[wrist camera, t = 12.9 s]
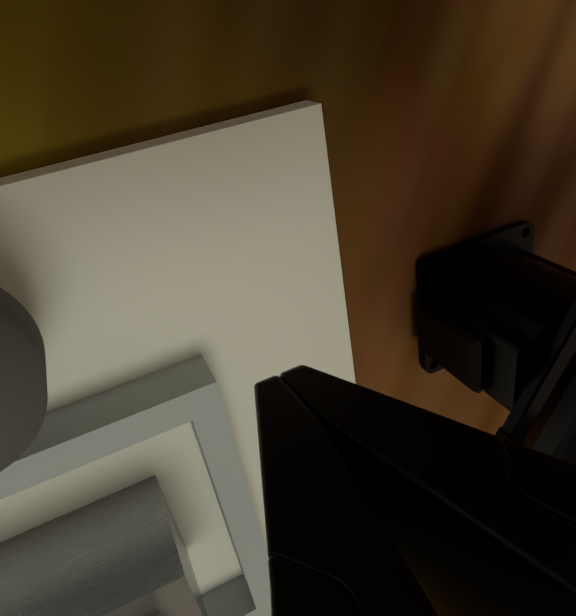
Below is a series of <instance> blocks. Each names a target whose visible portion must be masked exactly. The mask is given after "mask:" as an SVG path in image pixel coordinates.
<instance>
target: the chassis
mask: <svg viewBox="0 0 576 616" xmlns="http://www.w3.org/2000/svg"><path fill="white" fill-rule="evenodd" d="M0 288H2V289H3V290H5V291H6V292H8V293H9V294H10V295H12V296H13V297H14V298H15V299H16V300H17V301H18V302H20V303H21V304H22V305H23V306H24V307H25V309H26V310H27V311H28V312H29V314H30V315H31V316H32V317H33V319H34V321H35V323H36V324H37V326H38V328H39V330H40V333H41V335H42V338H43V342H44V347H45V356H46V374H47V393H48V401H47V410H46V414H45V417H44V421H43V423H42V426H41V428H40V430H39V432H38V434H37V436H36V437H35V439H34V440H33V442H32V443H31V445H30V446H29V447H28V448H27V449H26V450H25V452H24V453H23V454H22V455H21V456H20V457H19V458H18V459H17V460H15V461H14V462H13V463H12V464H11V465H9V466H8V467H7V468H5V469H4V470H3V471H1V472H0V542H2V541H5V540H7V539H9V538H12V537H14V536H16V535H18V534H21V533H23V532H25V531H28V530H30V529H32V528H34V527H37V526H39V525H41V524H44V523H46V522H48V521H51V520H53V519H55V518H57V517H60V516H62V515H64V514H67V513H69V512H71V511H74V510H76V509H78V508H80V507H83V506H85V505H87V504H90V503H92V502H94V501H97V500H99V499H101V498H103V497H106V496H108V495H110V494H113V493H115V492H117V491H120V490H122V489H124V488H126V487H129V486H131V485H133V484H136V483H138V482H140V481H142V480H145V479H147V478H149V477H152V476H154V475H156V478H157V480H158V482H159V485H160V487H161V489H162V492H163V494H164V496H165V499H166V501H167V504H168V506H169V508H170V511H171V513H172V515H173V518H174V520H175V523H176V525H177V527H178V530H179V532H180V534H181V537H182V539H183V542H184V544H185V546H186V549H187V552H188V555H189V558H190V561H191V564H192V568H193V571H194V574H195V577H196V580H197V584H198V587H199V590H200V593H201V596H202V600H203V603H204V606H205V609H206V613H207V616H271V595H270V580H269V568H268V560H269V558H268V552H267V540H266V527H265V515H264V503H263V491H262V479H261V467H260V455H259V443H258V430H257V418H256V406H255V394H254V385H255V384H256V383H257V382H259V381H262V380H264V379H267V378H269V377H272V376H275V375H276V376H280V374H281V373H282V372H284V371H286V370H289V369H291V368H294V367H296V366H299V365H306V366H309V367H311V368H314V369H317V370H320V371H322V372H325V373H328V374H330V375H333V376H336V377H338V378H341V379H344V380H346V381H349V382H352V383H355V375H354V367H353V359H352V351H351V343H350V334H349V326H348V318H347V310H346V302H345V294H344V286H343V277H342V269H341V261H340V253H339V245H338V237H337V229H336V220H335V212H334V204H333V196H332V188H331V180H330V172H329V163H328V155H327V147H326V139H325V131H324V123H323V115H322V106H321V103H317V102H312V101H307V100H305V101H301V102H297V103H293V104H289V105H285V106H281V107H277V108H273V109H269V110H265V111H261V112H257V113H254V114H250V115H246V116H242V117H238V118H234V119H230V120H226V121H222V122H218V123H214V124H210V125H206V126H202V127H198V128H194V129H190V130H187V131H183V132H179V133H175V134H171V135H167V136H163V137H159V138H155V139H151V140H147V141H143V142H139V143H135V144H131V145H127V146H123V147H119V148H116V149H112V150H108V151H104V152H100V153H96V154H92V155H88V156H84V157H80V158H76V159H72V160H68V161H64V162H60V163H56V164H52V165H49V166H45V167H41V168H37V169H33V170H29V171H25V172H21V173H17V174H13V175H9V176H5V177H1V178H0ZM355 384H356V383H355Z"/></svg>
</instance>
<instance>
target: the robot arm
mask: <svg viewBox="0 0 576 616" xmlns="http://www.w3.org/2000/svg"><path fill="white" fill-rule="evenodd" d="M522 231H523V232H522ZM533 236H534V226H533V224H532V223H530V222H527V221H524V220H521V221H518V222H515V223H512V224H510V225H507V226H504V227H501V228H499V229H496V230H493V231H491V232H488V233H485V234H483V235H480V236H477V237H474V238H472V239H469V240H466V241H464V242H461V243H458V244H455V245H453V246H450V247H447V248H445V249H442V250H439V251H437V252H434V253H431V254H428V255H426V256H424V257H422V258H421V259H420V261H419V262H418V264H417V285H418V308H417V311H418V334H419V348H420V358H421V367H422V368H423V369H424V370H425V371H427V372H428V373H434V372H436V371H439V370H441V369H443V368H444V369H446V370H447V371H448V372H449V373H451V374H452V375H453V376H454V377H456V378H457V379H458V380H460V381H461V382H462V383H463V384H465V385H466V386H467V387H468V388H470V389H471V390H472V391H474V392H476V393H480V392H482V391H484V392H486V393H487V394H488V395H490V396H491V397H492V398H494V399H495V400H496V401H497V402H499V403H500V404H501V405H503V406H504V407H505V408H507V409H508V410H509V411H510V414H509V416H508V417H507V419H506V421H505V423H504V424H503V426H502V427H499V429H498V431H497V432H496V434H495V435H492V434H490V433H487V432H484V431H481V430H479V429H476V428H473V427H471V426H468V425H465V424H463V423H460V422H457V421H454V420H452V419H449V418H446V417H444V416H441V415H438V414H436V413H433V412H430V411H427V410H425V409H422V408H419V407H417V406H414V405H411V404H409V403H406V402H403V401H400V400H398V399H395V398H392V397H390V396H387V395H384V394H382V393H379V392H376V391H373V390H371V389H368V388H365V387H363V386H360V385H357V384H355V383H352V382H349V381H346V380H344V379H341V378H338V377H336V376H333V375H330V374H328V373H325V372H322V371H320V370H317V369H314V368H311V367H309V366H306V365H299V366H296V367H294V368H291V369H289V370H286V371H284V372H282V373H281V374H280V376H276V375H275V376H272V377H269V378H267V379H264V380H262V381H259V382H257V383H256V384H255V385H254V394H255V406H256V418H257V430H258V443H259V455H260V467H261V479H262V491H263V503H264V515H265V527H266V540H267V552H268V558H269V560H268V568H269V580H270V595H271V616H576V272H575V271H573V270H570V269H568V268H566V267H563V266H561V265H559V264H556V263H554V262H552V261H549V260H547V259H544V258H542V257H540V256H537V255H535V254H533V253H532V248H533ZM429 264H430V267H429V269H427V267H428V265H429ZM431 362H432V363H431Z"/></svg>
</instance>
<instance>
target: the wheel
mask: <svg viewBox="0 0 576 616" xmlns="http://www.w3.org/2000/svg"><path fill="white" fill-rule="evenodd" d="M47 401H48V393H47V374H46V356H45V347H44V342H43V338H42V335H41V333H40V330H39V328H38V326H37V324H36V323H35V321H34V319H33V317H32V316H31V315H30V314H29V312H28V311H27V310H26V309H25V307H24V306H23V305H22V304H21V303H20V302H18V301H17V300H16V299H15V298H14V297H13V296H12V295H10V294H9V293H8V292H6V291H5V290H3V289H2V288H0V472H1V471H3V470H4V469H5V468H7V467H8V466H9V465H11V464H12V463H13V462H14V461H15V460H17V459H18V458H19V457H20V456H21V455H22V454H23V453H24V452H25V450H26V449H27V448H28V447H29V446H30V445H31V443H32V442H33V440H34V439H35V437H36V436H37V434H38V432H39V430H40V428H41V426H42V423H43V421H44V417H45V414H46V410H47Z"/></svg>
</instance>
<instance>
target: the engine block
mask: <svg viewBox="0 0 576 616" xmlns="http://www.w3.org/2000/svg"><path fill="white" fill-rule="evenodd" d="M0 616H207V613H206V609H205V606H204V603H203V600H202V596H201V593H200V590H199V587H198V584H197V580H196V577H195V574H194V571H193V568H192V564H191V561H190V558H189V555H188V552H187V549H186V546H185V544H184V542H183V539H182V537H181V534H180V532H179V530H178V527H177V525H176V523H175V520H174V518H173V515H172V513H171V511H170V508H169V506H168V504H167V501H166V499H165V496H164V494H163V492H162V489H161V487H160V485H159V482H158V480H157V478H156V475H154V476H152V477H149V478H147V479H145V480H142V481H140V482H138V483H136V484H133V485H131V486H129V487H126V488H124V489H122V490H120V491H117V492H115V493H113V494H110V495H108V496H106V497H103V498H101V499H99V500H97V501H94V502H92V503H90V504H87V505H85V506H83V507H80V508H78V509H76V510H74V511H71V512H69V513H67V514H64V515H62V516H60V517H57V518H55V519H53V520H51V521H48V522H46V523H44V524H41V525H39V526H37V527H34V528H32V529H30V530H28V531H25V532H23V533H21V534H18V535H16V536H14V537H12V538H9V539H7V540H5V541H2V542H0Z"/></svg>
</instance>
